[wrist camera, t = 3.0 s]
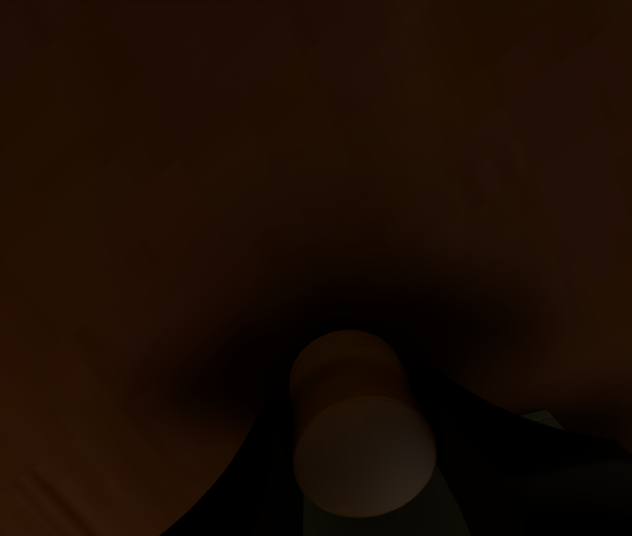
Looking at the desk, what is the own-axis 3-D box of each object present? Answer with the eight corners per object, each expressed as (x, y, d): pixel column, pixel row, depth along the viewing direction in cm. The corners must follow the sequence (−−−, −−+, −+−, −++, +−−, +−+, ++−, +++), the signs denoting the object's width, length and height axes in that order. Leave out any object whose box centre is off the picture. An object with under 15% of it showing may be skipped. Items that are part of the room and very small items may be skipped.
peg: (409, 413, 17) (447, 500, 13) (303, 439, 17) (310, 532, 13) (391, 316, 15) (427, 381, 12) (277, 344, 15) (275, 417, 12)
